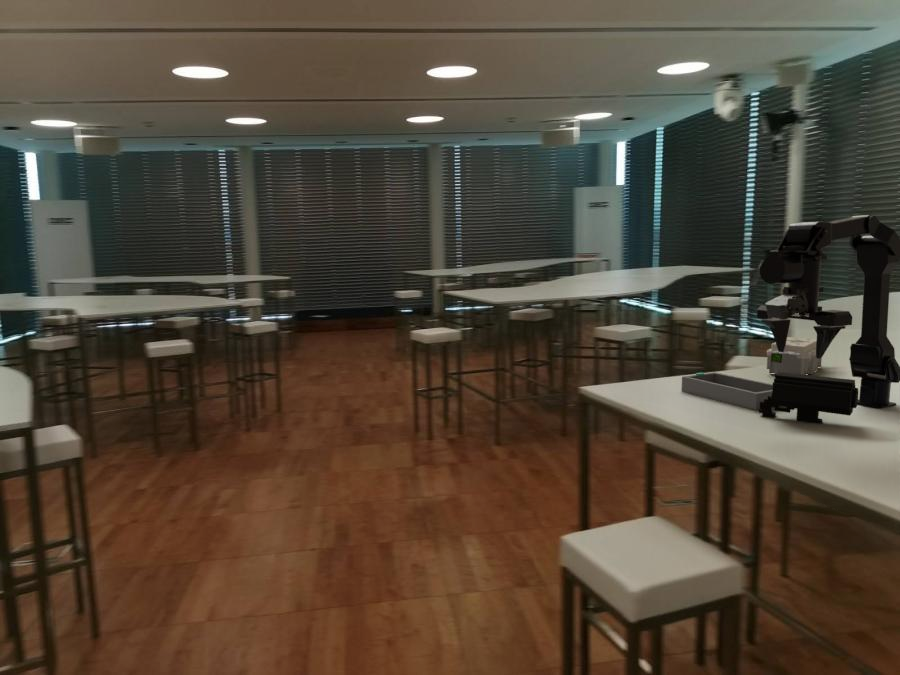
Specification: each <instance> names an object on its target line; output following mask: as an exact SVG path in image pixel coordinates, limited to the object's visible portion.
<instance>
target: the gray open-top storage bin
mask: <svg viewBox="0 0 900 675" xmlns="http://www.w3.org/2000/svg"><path fill="white" fill-rule="evenodd" d="M772 391H773V383H772V384H771V383H767V382H763V381H758V380H753V379H748V378H743V377H739V376H734V375H728V374H724V373H719V372H707V373H705V372H696V373H695V374H692V375H691V374H690V375H684V376H681V392H682V393H688V394H691V395H695V396H699V397H703V398H706V399H711V400H713V401H714V400H715V401H719V402H722V403H725V404H730V405H734V406H737V407H741V408H746V409H749V410H754V411H759V409H760V402H764V399H768V396H772Z"/></svg>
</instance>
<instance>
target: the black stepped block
mask: <svg viewBox="0 0 900 675" xmlns="http://www.w3.org/2000/svg"><path fill="white" fill-rule="evenodd" d="M772 384H773V391H772V396H768V399H764V402H760V409H759V410H758V413H759V414H761V415H762V416H761V417H764V418H771V419H774V418H775V417H776V416H777V413H776V412H782V413H789V414H790V413H791V411H792V410H793V411H794V410H795V409H796V420H795V421H796V422H801V423H809V424H819V425H820V424H822V422H823V418H819V413H829V414H833V415H834V414H835V415H842V416H851V415H852V413H853V411H854V409H857V406H858V404H857V402H858V400H859V393H860V390H859V388H858V387H856V379H850V378H839V377H828V376H820V375H819V376H818V375H817V376H816V375H801V374H791V373H781V372H779V373H777V374H775V375H774V378H773V382H772ZM773 408H774V409H773ZM773 410H774V411H775V412H773Z"/></svg>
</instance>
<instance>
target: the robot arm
mask: <svg viewBox="0 0 900 675" xmlns="http://www.w3.org/2000/svg"><path fill="white" fill-rule="evenodd" d="M862 234H865V235H863V236H862ZM868 234H869V235H868ZM845 238H850V239H849V245H850V247H851V248H852V250H853V251H854V252H855V254H856V255H855V257H856V264H857V265H858V267H859V268H860V270H861V272H862V273H863V289H862V291H863V296H862V308H861V309H862V312H861V332H860V337H859V338H858V339H857V341H856V342H855V343H851V345H850V349H849V350H850V354H849V359H848V360H849V365H850V370H851V376H852V377H854V378H861V379H860V386H859V396H858V402H857V405H863V406H868V407H872V408H877V409H883V408H889V407H895V406H897V402H892V401H890V398H891V397H890V396H891V385H892V383H896V384H897V383H898V384H899V383H900V364H899V363H898V361H897V360H896V357H895V356H896V353H895V347H894V345H893V344H892V342H891V341H890V339H889V337H888V319H889V306H890V304H889V302H890V286H891V284H890V283H891V274H892V273H893V271H894V270H895V268H896V267H897V266H898V265H899V263H900V237H899V235H898V234H897V232H896V231H895V230H894V229H893V228H891V227H889V226H887V225H886V224H884V223H882V222H881V221H880V219H879V218H878V217H877V216H876V215H872V214H862V215H860V214H859V215H853V216H851V217H847V218H842V219H841V218H840V219H837V220H836V219H835V220H832V221H831V220H830V221H806V222H805V221H803V222H793V223H791V224H789V225H788V228H787V230H786V231H785V233H784V235H783V236H782V238H781V240H780V242H779V244H777V247H776V249H775V250H770V251H769V253H768V254H769V255H768V257H766V258H765V259H764V260H762V262H761V265H760V266H759V275H760V278H761V279H762V281H763V282H765V283H766V284H769V285H777V284H778V285H779V284H788V285H787V286H783V288H782V294H781V295H779V296H776V297H775V298H772V299H770V300H769V301H767V302H765V305H760V306H759V307H758V308H757V310H756V318H757V319H760V320H761V322H762V323H764V324H765V325H766V326H767V327H768V328H769V329H770V331H771V333H772V335H773V338H774V343H775V342H776V345H777V348H778V351H779V352H783V351H784V348H785V345H786V340H787V337H788V334H789V328H790V325H791V319H798V320H806V321H814V322H815V324H816V325H814V326H813V329H814V331H815V333H816V339H817V342H816V358H818V359H819V358H822V359H823V356H824V355H825V353H826V351H827V350H828V348H829V347H830V345H831V343H832V341H833V340H834V339H835V338H836V336H837V335H838V334H839V332H840V331H841V330H843V329H846V327H847V326H852V325H853V315H852V314H851V312H850V310H836V309H828V310H823V306H819V299H820V298H819V295H820V293H823V292H824V286H820V280H821V279H820V278H821V265H822V261H827V259H828V256H827V255H826V253H824V252H822V249H825V248H827V247H829V246H830V245H832V243H833V242H834V241H835V240H841V239H845Z"/></svg>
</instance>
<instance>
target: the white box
mask: <svg viewBox="0 0 900 675" xmlns="http://www.w3.org/2000/svg"><path fill="white" fill-rule="evenodd" d="M816 342H817V338H804V337H793V336H792V337H791V336H787V340H786V345H785V348H784V351H783V352H779V351H778V348H777V345H776V342H775V341H774V342H772V343H771V348H769V349H766V355H767V358H766V359H767V360H766V370H768V373H769V374H771V373H775V375H776V374H777V373H779V372H781V373H791V374H801V375H806V374H812V373H814V372H815V371H816V370H817V371H818V370H819V369H818V367H821V368H822V359H823V357H822V358H819V359H818V358H816ZM815 373H816V372H815ZM815 373H814V374H815ZM812 375H813V374H812Z"/></svg>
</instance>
